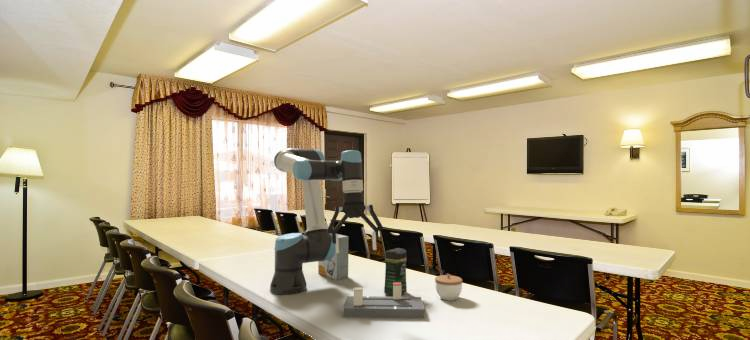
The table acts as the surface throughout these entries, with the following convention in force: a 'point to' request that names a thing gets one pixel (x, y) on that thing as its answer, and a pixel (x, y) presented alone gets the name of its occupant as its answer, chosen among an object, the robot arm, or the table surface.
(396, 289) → the block
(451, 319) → the table surface
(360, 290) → the fader front
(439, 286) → the lidded jar
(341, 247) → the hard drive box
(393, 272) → the coffee jar
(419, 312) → the console
